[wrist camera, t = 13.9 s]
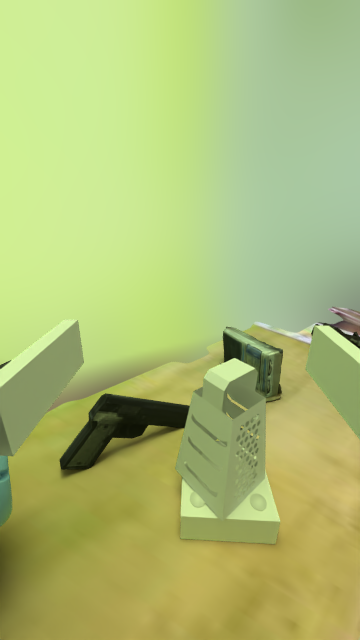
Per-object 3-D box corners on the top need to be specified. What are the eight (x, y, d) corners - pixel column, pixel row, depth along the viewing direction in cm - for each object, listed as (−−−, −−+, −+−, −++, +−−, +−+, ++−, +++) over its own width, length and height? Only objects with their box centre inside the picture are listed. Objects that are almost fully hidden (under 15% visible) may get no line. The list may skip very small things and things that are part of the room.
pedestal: (180, 538, 39) (180, 514, 37) (183, 458, 52) (183, 438, 50) (275, 544, 38) (280, 520, 36) (254, 461, 51) (257, 441, 49)
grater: (265, 478, 42) (287, 373, 35) (222, 521, 36) (238, 403, 29) (217, 438, 50) (227, 345, 43) (175, 468, 44) (179, 364, 36)
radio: (218, 362, 88) (221, 321, 83) (241, 359, 90) (245, 319, 85) (253, 406, 67) (259, 355, 62) (282, 401, 69) (291, 351, 64)
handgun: (166, 465, 61) (193, 410, 59) (61, 469, 47) (93, 396, 45) (162, 458, 63) (188, 404, 61) (59, 459, 49) (90, 389, 47)
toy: (287, 339, 105) (351, 385, 79) (291, 321, 102) (360, 361, 76) (344, 331, 114) (420, 369, 88) (350, 313, 110) (430, 348, 84)
